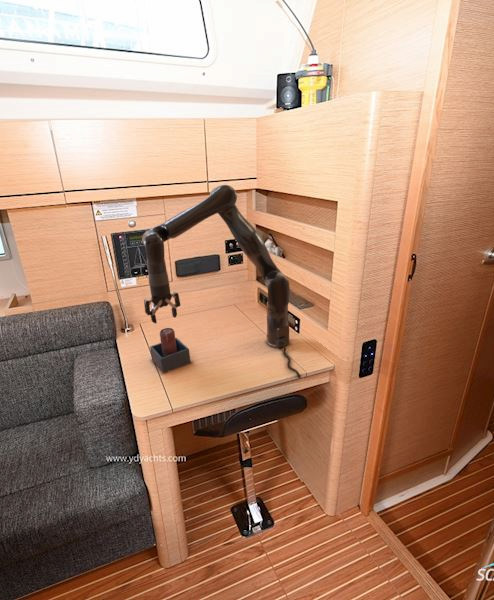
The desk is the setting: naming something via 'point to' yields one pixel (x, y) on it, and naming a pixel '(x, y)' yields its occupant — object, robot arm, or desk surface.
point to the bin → (170, 357)
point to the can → (168, 341)
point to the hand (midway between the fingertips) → (164, 319)
